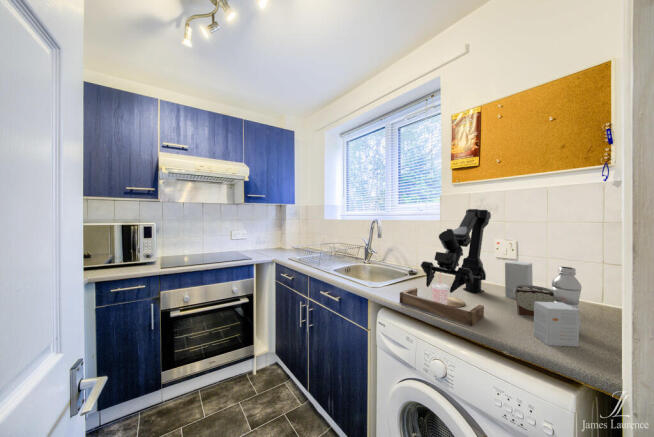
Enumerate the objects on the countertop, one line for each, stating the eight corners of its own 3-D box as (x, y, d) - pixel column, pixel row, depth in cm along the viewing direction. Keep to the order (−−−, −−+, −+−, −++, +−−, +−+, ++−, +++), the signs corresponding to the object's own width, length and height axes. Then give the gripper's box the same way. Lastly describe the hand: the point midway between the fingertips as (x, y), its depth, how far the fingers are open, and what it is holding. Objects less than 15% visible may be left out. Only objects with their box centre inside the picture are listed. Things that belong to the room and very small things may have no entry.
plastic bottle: (584, 339, 70) (586, 271, 70) (553, 333, 74) (555, 268, 73) (576, 330, 76) (578, 267, 75) (548, 324, 79) (549, 264, 79)
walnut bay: (414, 296, 106) (414, 287, 106) (483, 317, 85) (483, 305, 85) (399, 302, 99) (399, 292, 99) (471, 326, 78) (471, 314, 78)
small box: (561, 336, 71) (562, 302, 71) (579, 347, 66) (580, 309, 66) (532, 335, 72) (533, 300, 72) (547, 345, 67) (548, 308, 66)
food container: (546, 313, 89) (547, 286, 88) (556, 320, 83) (557, 291, 82) (507, 308, 93) (507, 282, 92) (513, 314, 87) (514, 287, 87)
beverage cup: (431, 310, 91) (432, 273, 90) (430, 304, 96) (431, 269, 96) (449, 312, 89) (450, 275, 88) (447, 306, 94) (448, 271, 94)
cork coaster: (444, 296, 106) (444, 295, 106) (469, 302, 98) (469, 301, 98) (433, 301, 100) (433, 300, 100) (459, 309, 92) (459, 307, 92)
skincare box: (533, 299, 102) (534, 263, 102) (527, 302, 99) (528, 265, 98) (509, 294, 109) (510, 260, 109) (503, 296, 106) (504, 261, 105)
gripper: (423, 242, 102) (408, 271, 95) (471, 247, 87) (457, 282, 80) (432, 258, 107) (418, 287, 100) (479, 265, 92) (467, 300, 86)
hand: (438, 289), depth 91 cm, fingers open, 9 cm apart
